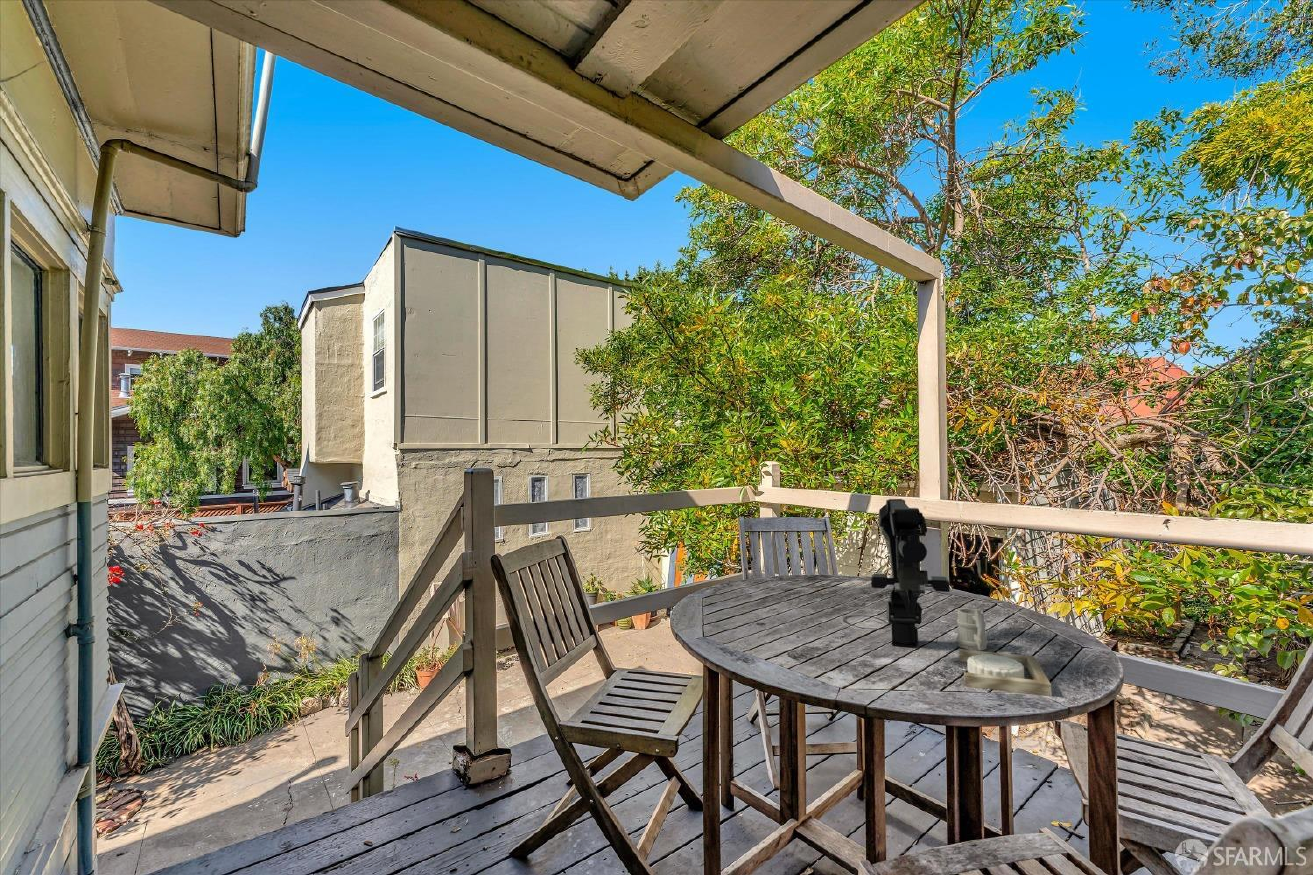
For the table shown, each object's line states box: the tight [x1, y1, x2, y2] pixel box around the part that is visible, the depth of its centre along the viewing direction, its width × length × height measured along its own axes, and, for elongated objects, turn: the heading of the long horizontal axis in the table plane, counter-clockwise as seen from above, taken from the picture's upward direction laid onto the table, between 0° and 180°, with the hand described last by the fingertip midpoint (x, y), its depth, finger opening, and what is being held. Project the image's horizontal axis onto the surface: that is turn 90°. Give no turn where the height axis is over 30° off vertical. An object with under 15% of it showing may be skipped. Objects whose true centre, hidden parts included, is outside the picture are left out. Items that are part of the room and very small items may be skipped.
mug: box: [956, 607, 989, 651], centre depth 159 cm, size 8×12×12 cm, turn 171°
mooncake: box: [966, 654, 1025, 679], centre depth 141 cm, size 12×12×4 cm
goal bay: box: [958, 648, 1052, 697], centre depth 140 cm, size 17×19×2 cm
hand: (910, 615), depth 152 cm, fingers closed
